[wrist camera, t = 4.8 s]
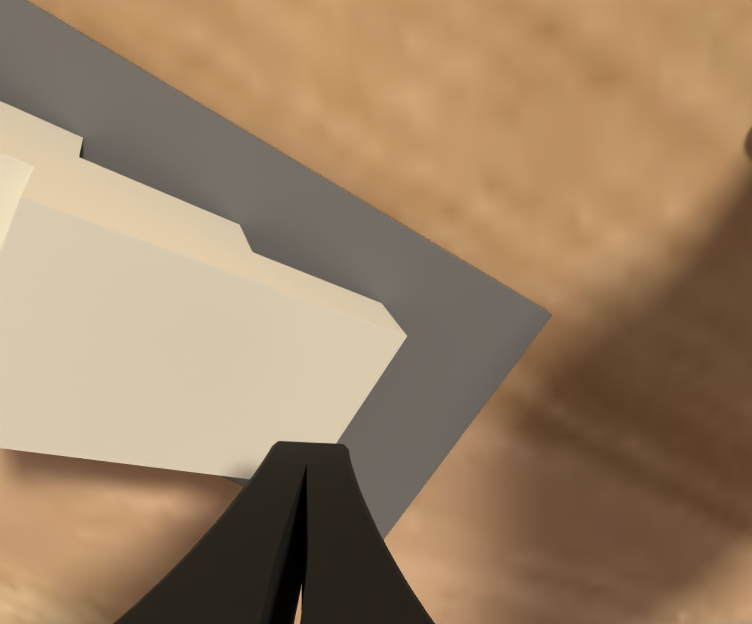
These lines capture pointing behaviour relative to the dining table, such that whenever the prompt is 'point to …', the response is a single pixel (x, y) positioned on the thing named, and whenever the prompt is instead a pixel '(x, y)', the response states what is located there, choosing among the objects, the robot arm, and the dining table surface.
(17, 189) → the domino
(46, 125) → the domino
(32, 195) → the domino
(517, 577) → the dining table surface
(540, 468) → the dining table surface
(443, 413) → the runner mat
